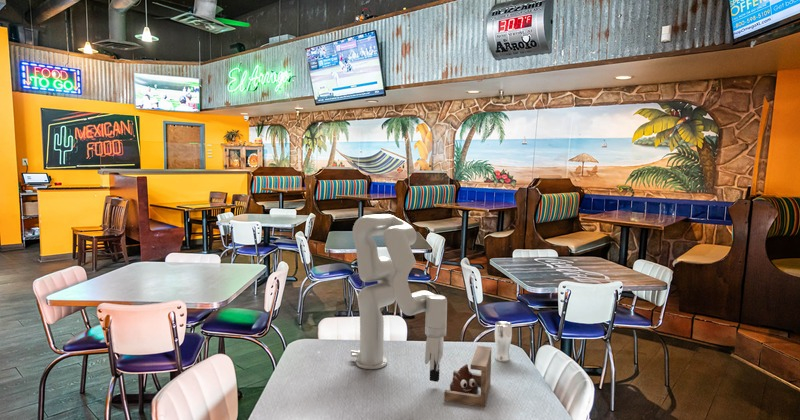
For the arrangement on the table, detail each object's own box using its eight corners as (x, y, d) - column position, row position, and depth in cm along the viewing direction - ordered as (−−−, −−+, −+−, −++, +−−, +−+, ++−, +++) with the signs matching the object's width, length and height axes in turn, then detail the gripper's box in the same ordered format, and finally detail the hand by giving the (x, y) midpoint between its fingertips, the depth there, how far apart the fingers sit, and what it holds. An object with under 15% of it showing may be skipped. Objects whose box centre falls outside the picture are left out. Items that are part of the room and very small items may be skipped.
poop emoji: (471, 383, 162) (472, 358, 161) (482, 394, 153) (483, 368, 153) (446, 386, 159) (446, 361, 158) (455, 397, 151) (456, 371, 150)
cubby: (444, 400, 149) (445, 361, 148) (453, 378, 166) (454, 343, 165) (485, 407, 145) (486, 366, 144) (490, 383, 162) (491, 347, 161)
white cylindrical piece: (511, 363, 181) (512, 326, 180) (494, 361, 182) (494, 325, 181) (510, 356, 188) (511, 321, 187) (493, 355, 189) (494, 320, 188)
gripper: (430, 322, 166) (428, 370, 167) (420, 335, 151) (419, 387, 153) (449, 324, 164) (448, 373, 165) (442, 338, 149) (440, 391, 151)
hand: (434, 380), depth 159 cm, fingers closed
